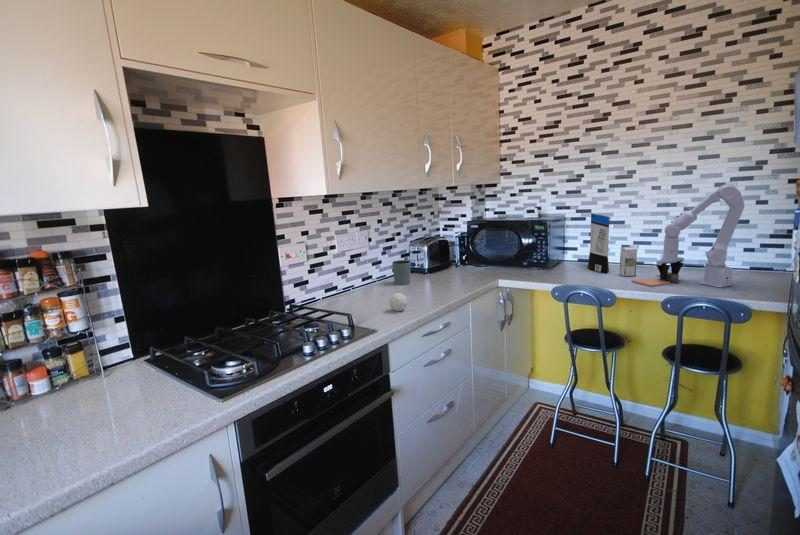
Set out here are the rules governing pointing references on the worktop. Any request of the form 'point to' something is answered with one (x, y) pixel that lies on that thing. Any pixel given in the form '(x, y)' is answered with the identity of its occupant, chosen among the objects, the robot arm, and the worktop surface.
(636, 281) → the terracotta trivet
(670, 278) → the charger plug
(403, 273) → the green cup
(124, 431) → the worktop surface
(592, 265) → the protein powder
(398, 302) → the ball
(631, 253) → the syrup box
